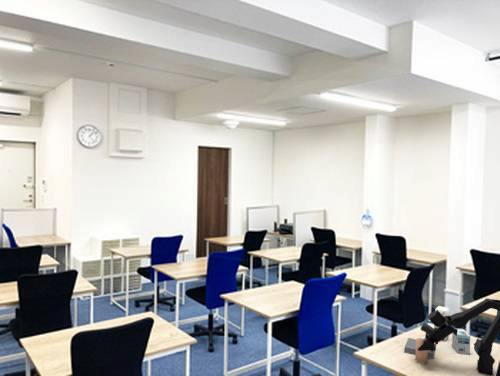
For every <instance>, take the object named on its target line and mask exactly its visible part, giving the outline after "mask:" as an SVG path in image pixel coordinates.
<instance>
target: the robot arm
mask: <svg viewBox="0 0 500 376" xmlns="http://www.w3.org/2000/svg"><path fill="white" fill-rule="evenodd" d="M490 309H493V310H495V311H496V315H495V317H494V319H493V320H492V322H491V323H490V326H489V327H488V329H487V330H486V332H485V334H484V336H483V337H482V338H481V339H479V338H476V340H475V342H474V343H473V349H474V352H475V353H476V355H477V356H478V359H477V361H476V362H477V364H476V365H477V366H476V369H477V371H478V372H477V373H480V374H484V375H489V376H492V375H493V376H494V364H495V363H496V359H495V358H494V357H493V355H491V354H492V351H493V344H494V342H495V340H496V339H497V337H498V335H499V333H500V299H493V298H485V299H483V300H481V301H480V302H479V303H477V304H475V305H473V306H471V307H469V308H468V309H466V310H464V311H461V312H457V313H453V314H451V315H450V316H443V315H442V314H441V313H440V312H439V311H438V310H437V311H435V310H434V311H433V312H430V313H429V314H428V316H427V319H428V320H429V321H430V322H431V323H432V324H433V326H434V325H435V326H436V327H438V328H434V327H432V326H431V325H429V324H428V323H426V322H423V323H422V324H421V327H420V331H422V332H424V333H425V335H424V336H425V337H424V338H423V339H424V340H423V344H422V345H421V346H420V347H419V348H418V351H425V350H431V351H432V352H433V351H435V352H436V350H437V345H438V344H439V343H440V342H441V341H442V340H444V339H445V338H446V337H447V336H448V337H449V336H450V335H452V333H454V334H455V335H456V336H457V329H463V328H464V327H465V326H466V325H467V324H468V323H469V321H471V320H472V319H474V318H476V317H477V316H479V315H481V314H483V313H485V312H487V311H488V310H490ZM446 322H447V323H448V324H447V323H446ZM455 328H457V329H455ZM434 343H435V344H436V345H435V344H434ZM435 349H436V350H435Z"/></svg>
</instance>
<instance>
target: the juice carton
mask: <svg viewBox="0 0 500 376" xmlns="http://www.w3.org/2000/svg"><path fill="white" fill-rule="evenodd" d="M437 310H438V311H439V312H440V313H441V314H442V315H443V316H451V315H450V313H451V312H450V308H449V307H447V306H441V305H438V306H437V307H436V308H435V310H434V311H437ZM446 323H447V322H446ZM447 324H448V323H447ZM433 328H438V327H436V326H435V325H434V324H433ZM448 339H449V336H447V337H446V338H445V339H444V340H441V341H442V342H446V341H447V340H448Z"/></svg>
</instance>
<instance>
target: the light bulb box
mask: <svg viewBox="0 0 500 376" xmlns="http://www.w3.org/2000/svg"><path fill="white" fill-rule="evenodd" d="M454 328H455V327H454ZM455 329H457V328H455ZM451 335H452V337H451V338H452V339H451V340H452V341H451V346H452V347H453V349H454V350H455V352H456V353H457V354H464V355H470V354H471V335H470V333H468V332H467V331H466V329H463V328H461V329H457V336H456V335H455V334H454V333H452V334H451Z"/></svg>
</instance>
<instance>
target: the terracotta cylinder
mask: <svg viewBox="0 0 500 376" xmlns="http://www.w3.org/2000/svg"><path fill="white" fill-rule="evenodd" d="M415 339H416V353H415V355H414V356H415V359H414V360H415V361H416V363H417V362H418V363H420V364H427V363H428V358H427V356H428V350H425V351H418V348H419V347H420V346H421V345H422V344H423V340H424V338H415Z"/></svg>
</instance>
